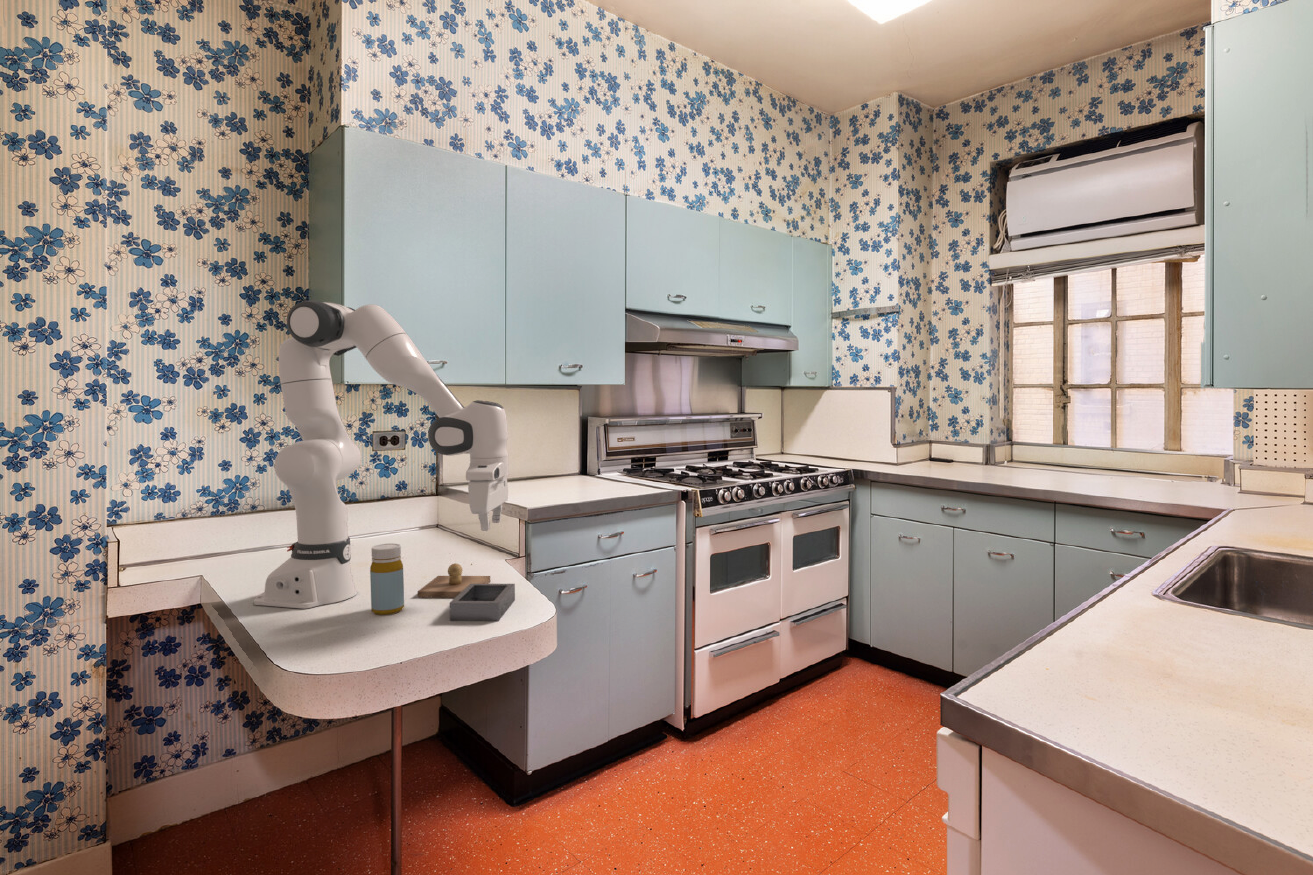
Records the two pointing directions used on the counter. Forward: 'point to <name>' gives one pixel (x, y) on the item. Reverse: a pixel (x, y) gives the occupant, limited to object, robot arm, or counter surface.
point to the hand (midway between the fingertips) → (491, 526)
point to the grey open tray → (482, 602)
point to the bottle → (386, 579)
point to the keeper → (451, 583)
